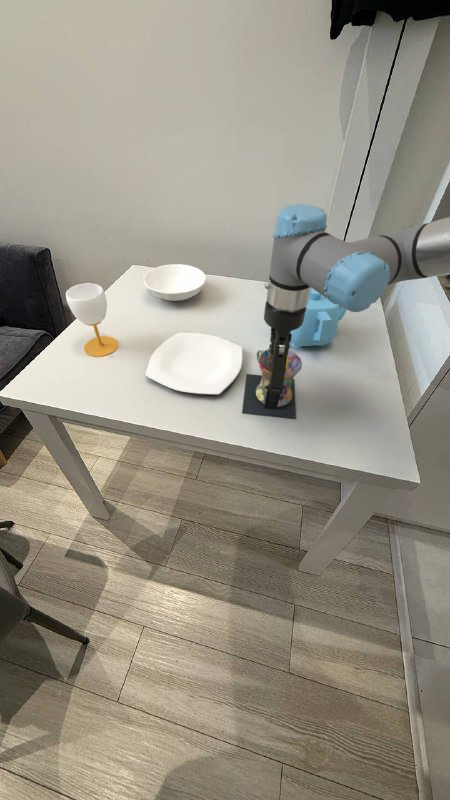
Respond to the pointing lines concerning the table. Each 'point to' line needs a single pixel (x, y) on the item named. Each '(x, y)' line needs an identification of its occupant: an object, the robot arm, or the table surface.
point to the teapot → (318, 322)
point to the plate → (196, 363)
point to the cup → (91, 316)
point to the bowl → (174, 281)
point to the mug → (291, 370)
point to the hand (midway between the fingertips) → (271, 386)
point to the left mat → (257, 407)
